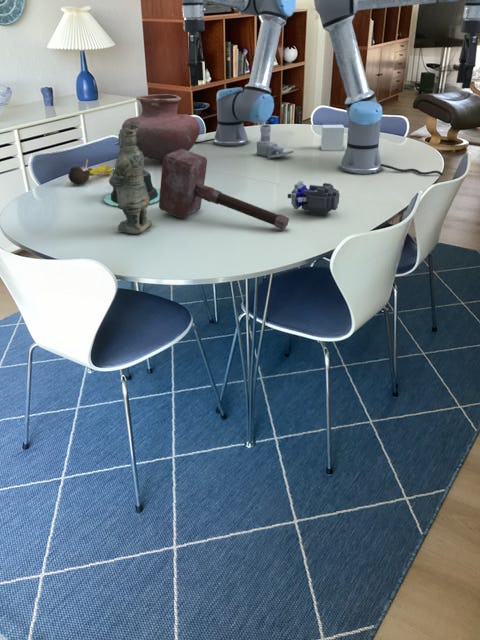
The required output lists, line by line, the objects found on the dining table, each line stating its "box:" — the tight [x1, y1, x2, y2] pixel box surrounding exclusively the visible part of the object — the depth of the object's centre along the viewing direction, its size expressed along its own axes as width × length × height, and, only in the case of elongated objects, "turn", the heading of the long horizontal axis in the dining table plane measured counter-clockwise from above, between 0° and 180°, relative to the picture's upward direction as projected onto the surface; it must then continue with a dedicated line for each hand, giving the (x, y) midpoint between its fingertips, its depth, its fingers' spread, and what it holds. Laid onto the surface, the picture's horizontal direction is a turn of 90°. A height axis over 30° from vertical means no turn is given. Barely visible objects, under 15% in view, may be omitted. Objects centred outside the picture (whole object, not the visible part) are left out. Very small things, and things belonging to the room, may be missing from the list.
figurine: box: [67, 158, 115, 186], centre depth 207 cm, size 13×8×25 cm
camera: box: [256, 124, 295, 159], centre depth 227 cm, size 9×12×15 cm
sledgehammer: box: [158, 149, 290, 231], centre depth 163 cm, size 17×10×40 cm
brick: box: [320, 124, 345, 151], centre depth 238 cm, size 9×6×9 cm
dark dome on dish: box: [103, 168, 160, 207], centre depth 186 cm, size 15×19×20 cm
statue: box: [108, 121, 153, 235], centre depth 154 cm, size 11×9×30 cm
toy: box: [287, 180, 341, 216], centre depth 168 cm, size 9×9×15 cm
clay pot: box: [121, 93, 201, 163], centre depth 222 cm, size 30×30×25 cm
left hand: (197, 83), depth 209 cm, fingers open, 13 cm apart
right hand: (462, 85), depth 203 cm, fingers open, 13 cm apart
